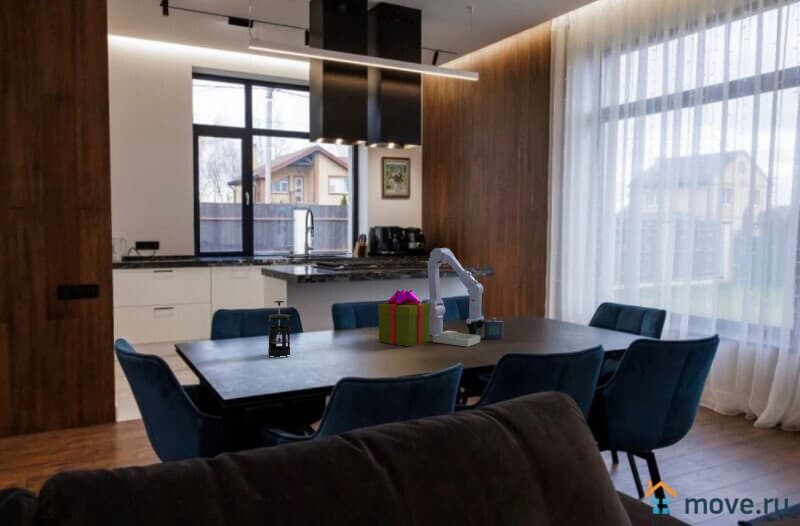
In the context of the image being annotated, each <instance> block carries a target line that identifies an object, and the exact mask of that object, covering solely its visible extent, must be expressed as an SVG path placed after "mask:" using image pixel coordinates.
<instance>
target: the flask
mask: <svg viewBox="0 0 800 526" xmlns="http://www.w3.org/2000/svg"><path fill="white" fill-rule="evenodd" d="M496 319H497V318H496V317H493V318H492V319H488V320H485V321H484V324H483V326H484V331H483V333H484V334H483V337H484V339H492V340H495V339H497V340H499V339H501V340H503V339H504V321H503V320H496Z"/></svg>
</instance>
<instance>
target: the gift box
mask: <svg viewBox="0 0 800 526" xmlns="http://www.w3.org/2000/svg"><path fill="white" fill-rule="evenodd" d="M418 298H419V297H417V296H416V295H415V294H414V293H413V289H410V290H409V291H408V290H406V289H405V288H403V289H402V290H398V289H396V291H395V293H394V294H393V295H392V296H391V297H390V298H389V299H388V301H385V302H383V301H382V302H381V303H378V304H377V307H378V308H377V313H378V342H379V343H386V344H390V345H393V344H394V345H395V344H398V346H406V347H410V346H414V345H420V344H421V343H424V342H427V341H430V335H429V315H430V303H428V302H421V300H419V299H418ZM394 345H393V346H394ZM395 346H396V345H395Z"/></svg>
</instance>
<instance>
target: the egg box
mask: <svg viewBox="0 0 800 526" xmlns="http://www.w3.org/2000/svg"><path fill="white" fill-rule="evenodd" d="M457 333H458V331H455V330H444V331H443V332H441V333H439V336H444V337H452V338H457Z"/></svg>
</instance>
